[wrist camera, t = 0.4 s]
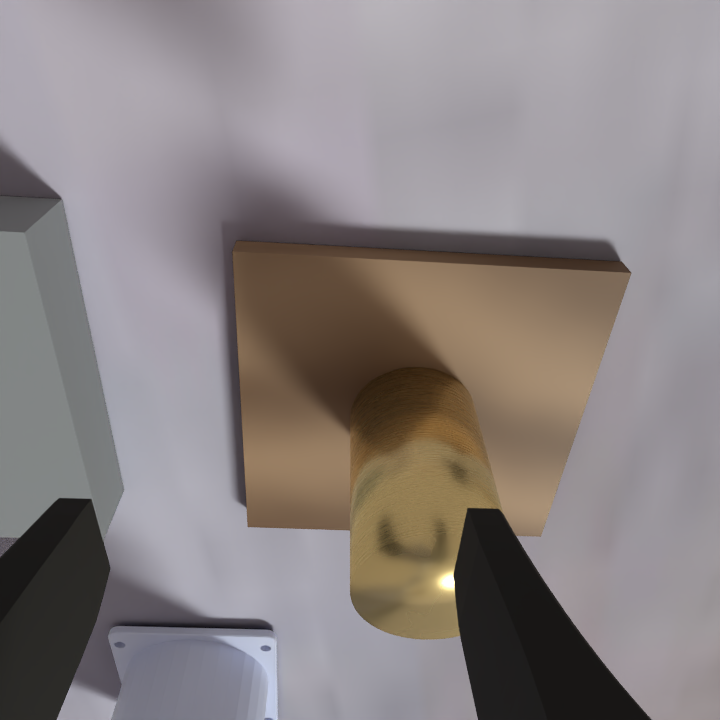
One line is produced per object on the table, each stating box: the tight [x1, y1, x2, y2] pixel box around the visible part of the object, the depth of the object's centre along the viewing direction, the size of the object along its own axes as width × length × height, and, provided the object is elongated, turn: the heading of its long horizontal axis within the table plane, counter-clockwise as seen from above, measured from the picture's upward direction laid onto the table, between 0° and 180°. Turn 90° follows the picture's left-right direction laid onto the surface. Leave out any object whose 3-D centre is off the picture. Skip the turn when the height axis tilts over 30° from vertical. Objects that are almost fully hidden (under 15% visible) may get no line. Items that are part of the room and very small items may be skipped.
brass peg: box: [350, 367, 503, 639], centre depth 19 cm, size 4×4×7 cm
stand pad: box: [232, 241, 631, 537], centre depth 22 cm, size 12×12×1 cm
